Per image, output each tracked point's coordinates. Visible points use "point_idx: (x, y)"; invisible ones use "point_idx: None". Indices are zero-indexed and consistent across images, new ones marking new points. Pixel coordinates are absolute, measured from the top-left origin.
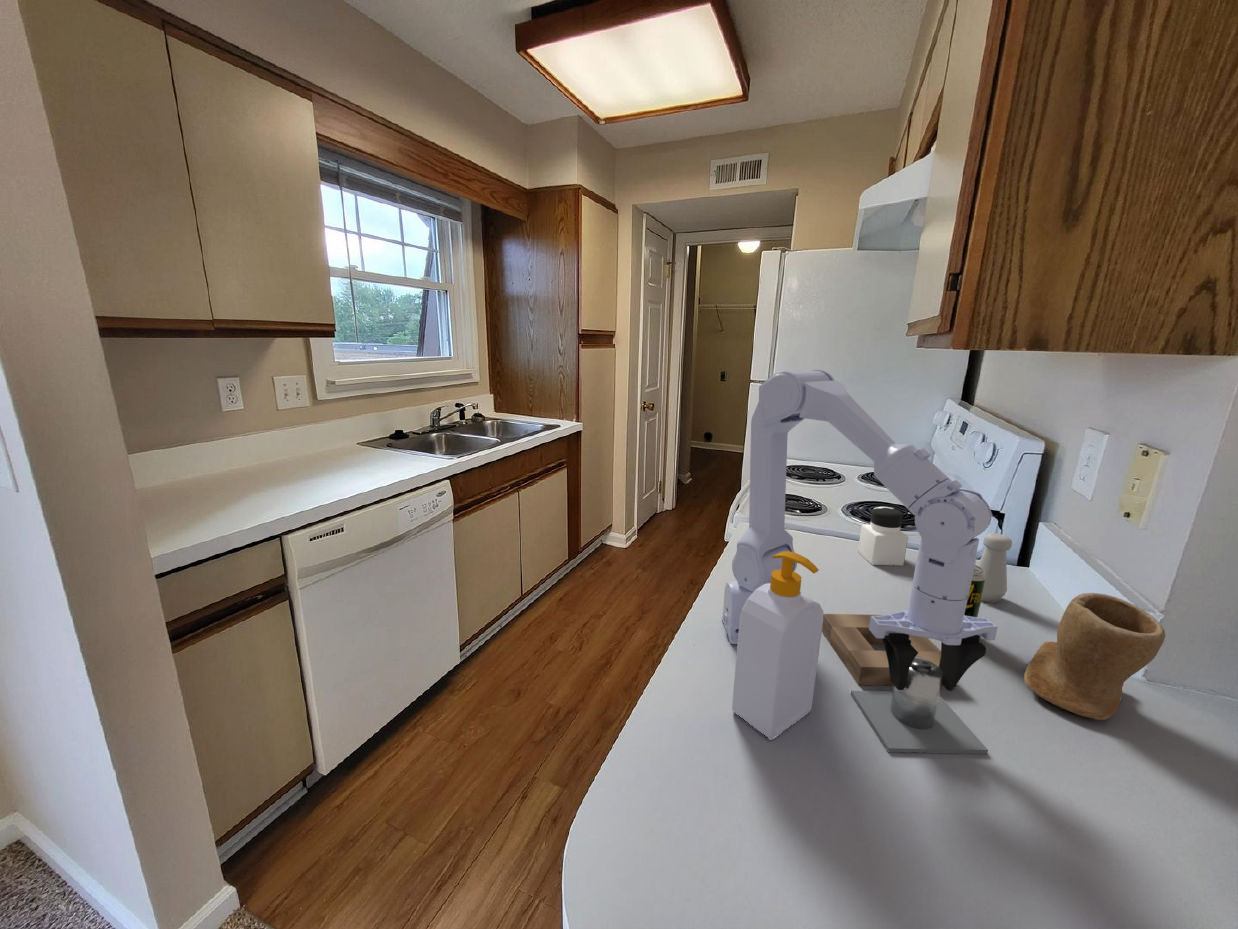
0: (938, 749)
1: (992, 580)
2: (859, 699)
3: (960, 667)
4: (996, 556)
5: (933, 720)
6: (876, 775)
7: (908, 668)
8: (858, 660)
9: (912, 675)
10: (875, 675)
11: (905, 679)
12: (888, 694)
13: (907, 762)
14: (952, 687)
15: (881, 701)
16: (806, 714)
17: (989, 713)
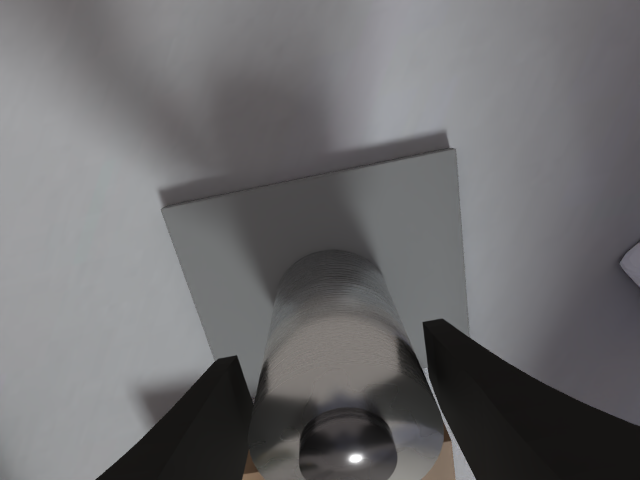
0: (304, 179)
1: None
2: (461, 330)
3: (161, 461)
4: None
5: (289, 275)
6: (523, 42)
7: (493, 395)
8: (446, 466)
9: (412, 379)
10: None
11: (454, 348)
12: None
13: (406, 121)
14: (218, 366)
15: None
16: (636, 246)
17: (112, 359)
